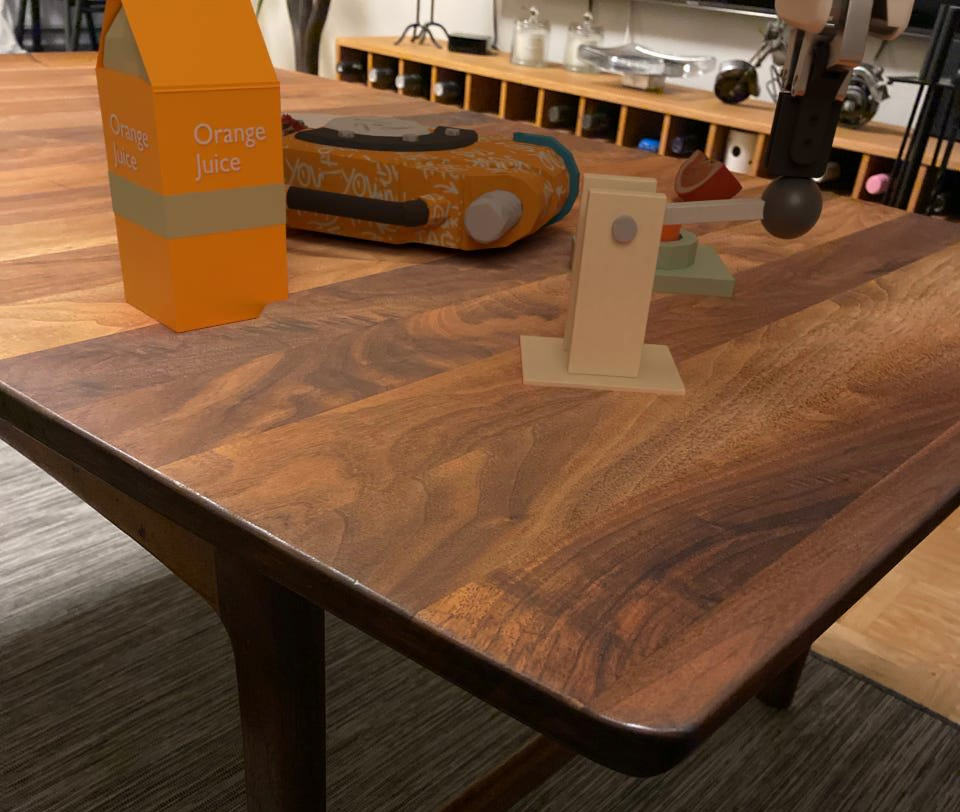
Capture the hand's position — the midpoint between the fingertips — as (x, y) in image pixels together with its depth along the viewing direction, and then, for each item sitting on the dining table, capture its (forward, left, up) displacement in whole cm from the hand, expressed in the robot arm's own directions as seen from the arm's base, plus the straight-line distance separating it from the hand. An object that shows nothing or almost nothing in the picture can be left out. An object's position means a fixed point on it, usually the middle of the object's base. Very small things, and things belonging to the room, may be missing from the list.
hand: (793, 172), depth 59 cm
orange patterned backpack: (+26, -32, -13) cm, 43 cm away
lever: (+4, 0, -4) cm, 6 cm away
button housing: (+4, -22, -13) cm, 26 cm away
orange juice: (+37, -9, -13) cm, 40 cm away
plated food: (+36, -64, -13) cm, 74 cm away
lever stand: (+10, 0, -13) cm, 16 cm away
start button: (+4, -22, -9) cm, 24 cm away
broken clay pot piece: (-6, -52, -13) cm, 54 cm away
